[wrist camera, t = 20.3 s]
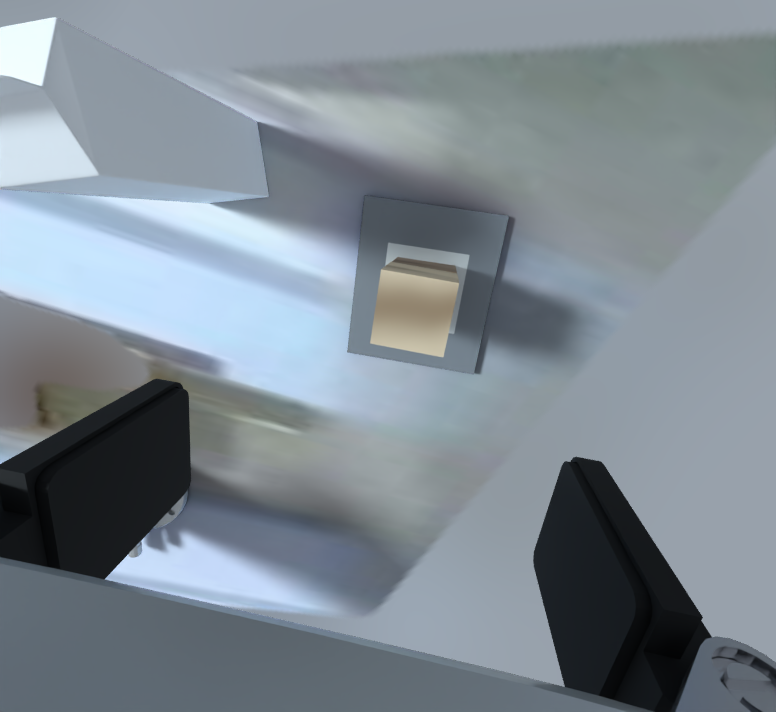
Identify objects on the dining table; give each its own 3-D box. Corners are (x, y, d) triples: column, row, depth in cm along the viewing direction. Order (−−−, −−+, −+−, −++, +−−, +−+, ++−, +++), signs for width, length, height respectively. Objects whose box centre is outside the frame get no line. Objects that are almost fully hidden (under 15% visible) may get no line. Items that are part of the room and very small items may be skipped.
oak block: (443, 337, 32) (443, 357, 27) (380, 325, 32) (370, 343, 28) (457, 273, 30) (459, 283, 26) (390, 261, 31) (381, 269, 26)
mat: (473, 372, 39) (473, 374, 38) (348, 350, 40) (347, 352, 39) (508, 216, 34) (509, 215, 33) (365, 195, 35) (364, 195, 34)
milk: (270, 197, 36) (37, 172, 15) (206, 203, 37) (-96, 188, 16) (257, 119, 34) (-28, -30, 13) (190, 127, 35) (-175, 0, 14)
